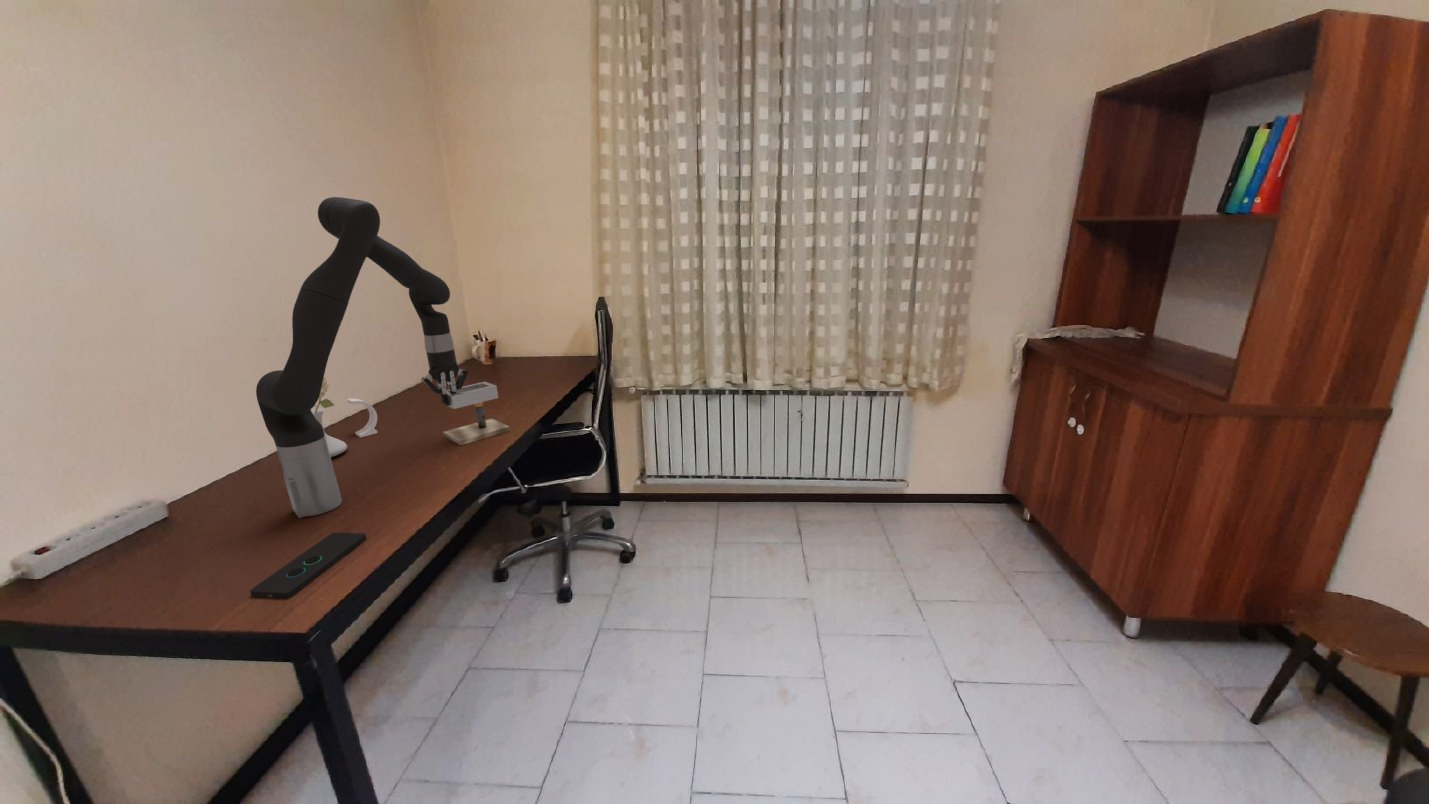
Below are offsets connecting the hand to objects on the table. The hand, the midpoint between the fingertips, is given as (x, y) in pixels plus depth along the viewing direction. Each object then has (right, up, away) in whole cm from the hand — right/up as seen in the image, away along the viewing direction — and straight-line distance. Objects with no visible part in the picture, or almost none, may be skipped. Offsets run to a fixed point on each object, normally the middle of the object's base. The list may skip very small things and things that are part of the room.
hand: (450, 404), depth 168 cm
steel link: (+4, +1, +4) cm, 6 cm away
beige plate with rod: (+5, -9, +8) cm, 13 cm away
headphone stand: (-32, -10, +11) cm, 35 cm away
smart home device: (+2, -32, -60) cm, 68 cm away
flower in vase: (-33, -15, -6) cm, 37 cm away
